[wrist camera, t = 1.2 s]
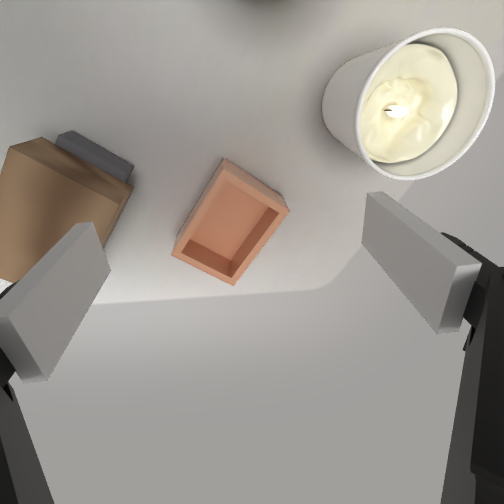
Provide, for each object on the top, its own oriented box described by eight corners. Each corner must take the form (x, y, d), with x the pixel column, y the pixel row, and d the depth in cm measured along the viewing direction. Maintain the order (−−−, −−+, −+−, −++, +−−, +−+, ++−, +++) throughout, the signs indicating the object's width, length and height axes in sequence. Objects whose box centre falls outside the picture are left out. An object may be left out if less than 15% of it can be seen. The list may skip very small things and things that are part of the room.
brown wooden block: (5, 242, 34) (-28, 267, 29) (41, 137, 29) (9, 146, 25) (88, 278, 36) (69, 305, 32) (133, 187, 32) (119, 204, 27)
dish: (177, 234, 38) (170, 254, 34) (223, 157, 34) (223, 168, 30) (232, 264, 41) (233, 286, 36) (282, 195, 36) (289, 210, 32)
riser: (29, 242, 37) (14, 254, 34) (72, 130, 32) (58, 134, 29) (84, 266, 39) (74, 280, 36) (134, 165, 34) (126, 173, 31)
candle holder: (361, 168, 36) (417, 203, 25) (294, 116, 32) (328, 132, 22) (426, 88, 32) (524, 91, 22) (359, 21, 29) (435, -13, 18)
